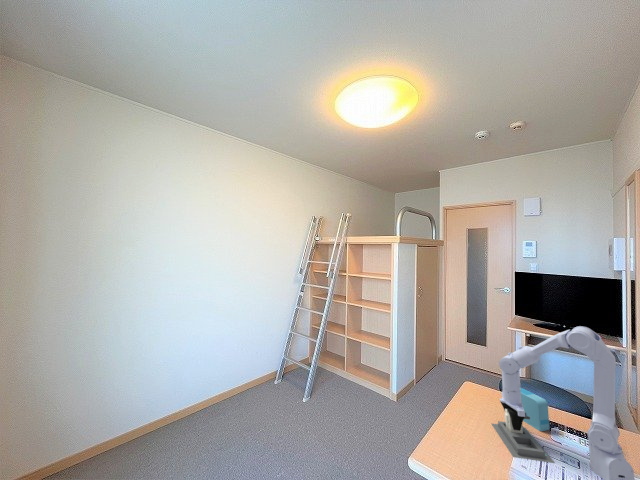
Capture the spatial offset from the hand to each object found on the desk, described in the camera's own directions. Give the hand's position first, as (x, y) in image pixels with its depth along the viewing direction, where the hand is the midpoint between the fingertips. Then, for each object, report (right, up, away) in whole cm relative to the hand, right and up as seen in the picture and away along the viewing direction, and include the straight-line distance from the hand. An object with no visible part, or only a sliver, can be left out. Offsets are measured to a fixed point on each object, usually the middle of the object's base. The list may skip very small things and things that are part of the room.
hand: (513, 426), depth 100 cm
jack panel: (-1, -4, -4) cm, 6 cm away
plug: (+1, -3, -1) cm, 3 cm away
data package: (+12, -5, +7) cm, 15 cm away
